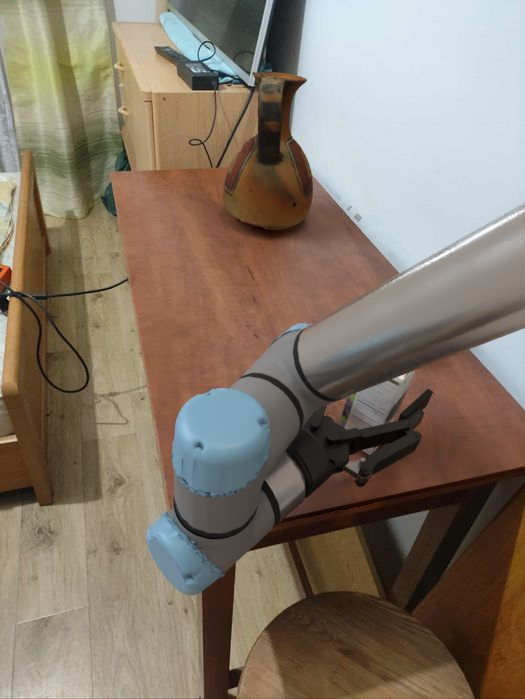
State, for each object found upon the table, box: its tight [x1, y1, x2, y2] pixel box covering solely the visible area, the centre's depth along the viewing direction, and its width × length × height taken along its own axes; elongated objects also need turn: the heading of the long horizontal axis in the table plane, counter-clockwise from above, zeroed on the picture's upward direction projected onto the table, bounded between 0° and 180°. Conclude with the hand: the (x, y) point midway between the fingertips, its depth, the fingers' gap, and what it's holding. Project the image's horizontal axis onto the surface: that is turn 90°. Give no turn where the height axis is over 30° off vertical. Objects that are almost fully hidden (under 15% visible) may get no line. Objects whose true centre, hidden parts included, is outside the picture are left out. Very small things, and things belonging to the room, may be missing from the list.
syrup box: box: [337, 370, 417, 456], centre depth 65 cm, size 6×6×14 cm
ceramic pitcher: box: [222, 71, 314, 231], centre depth 107 cm, size 20×20×30 cm
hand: (396, 377), depth 68 cm, fingers open, 9 cm apart
